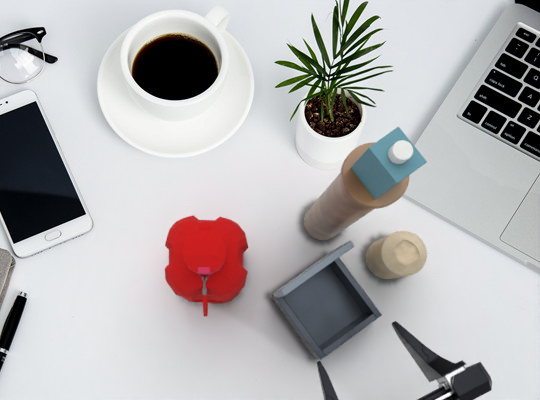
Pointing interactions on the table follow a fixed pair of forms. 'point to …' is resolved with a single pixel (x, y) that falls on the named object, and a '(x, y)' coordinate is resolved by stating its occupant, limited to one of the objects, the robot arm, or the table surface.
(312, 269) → the lid
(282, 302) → the open box
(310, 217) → the tall beige cylinder
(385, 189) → the teal milk carton
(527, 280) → the table surface
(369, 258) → the candle
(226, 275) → the red rounded piece
